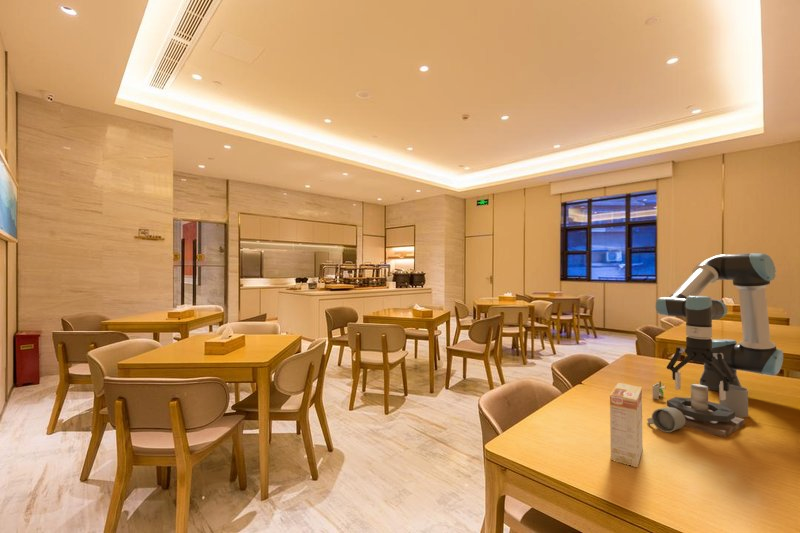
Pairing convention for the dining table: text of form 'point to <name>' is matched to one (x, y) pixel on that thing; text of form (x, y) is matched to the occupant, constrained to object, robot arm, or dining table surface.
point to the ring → (718, 413)
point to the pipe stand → (701, 403)
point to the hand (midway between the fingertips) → (699, 394)
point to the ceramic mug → (667, 419)
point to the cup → (736, 400)
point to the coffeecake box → (626, 424)
